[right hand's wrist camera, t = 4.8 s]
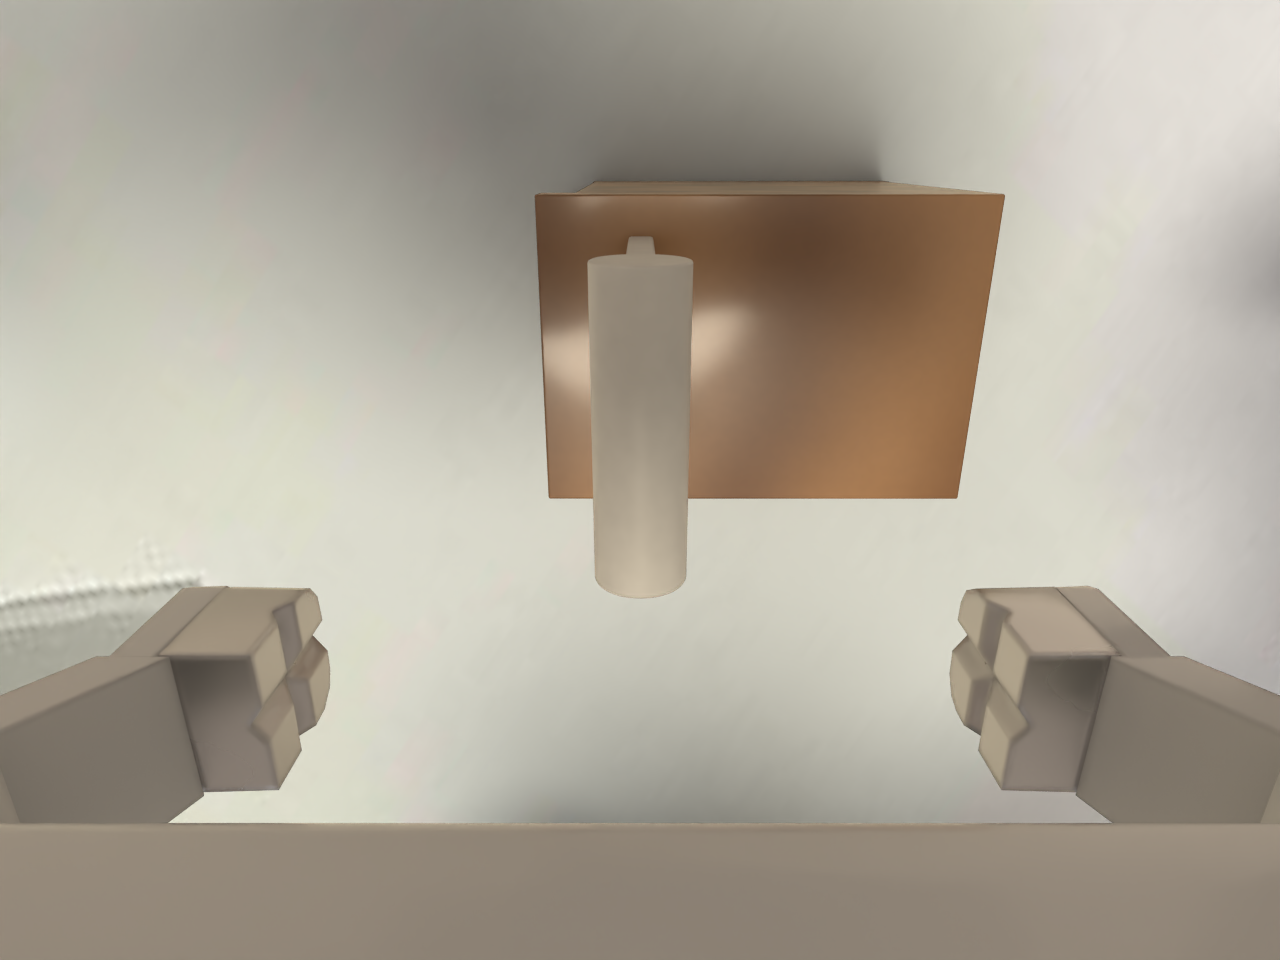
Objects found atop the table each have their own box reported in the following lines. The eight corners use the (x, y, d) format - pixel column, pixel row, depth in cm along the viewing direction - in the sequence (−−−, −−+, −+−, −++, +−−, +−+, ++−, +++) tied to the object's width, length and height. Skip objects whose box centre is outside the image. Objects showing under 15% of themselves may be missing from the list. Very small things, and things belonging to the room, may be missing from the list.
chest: (598, 393, 38) (582, 484, 27) (594, 181, 34) (573, 192, 24) (860, 393, 37) (944, 484, 27) (882, 181, 34) (988, 192, 24)
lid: (552, 484, 27) (511, 636, 19) (539, 192, 24) (481, 213, 15) (944, 484, 27) (1084, 636, 19) (988, 192, 24) (1185, 212, 15)
